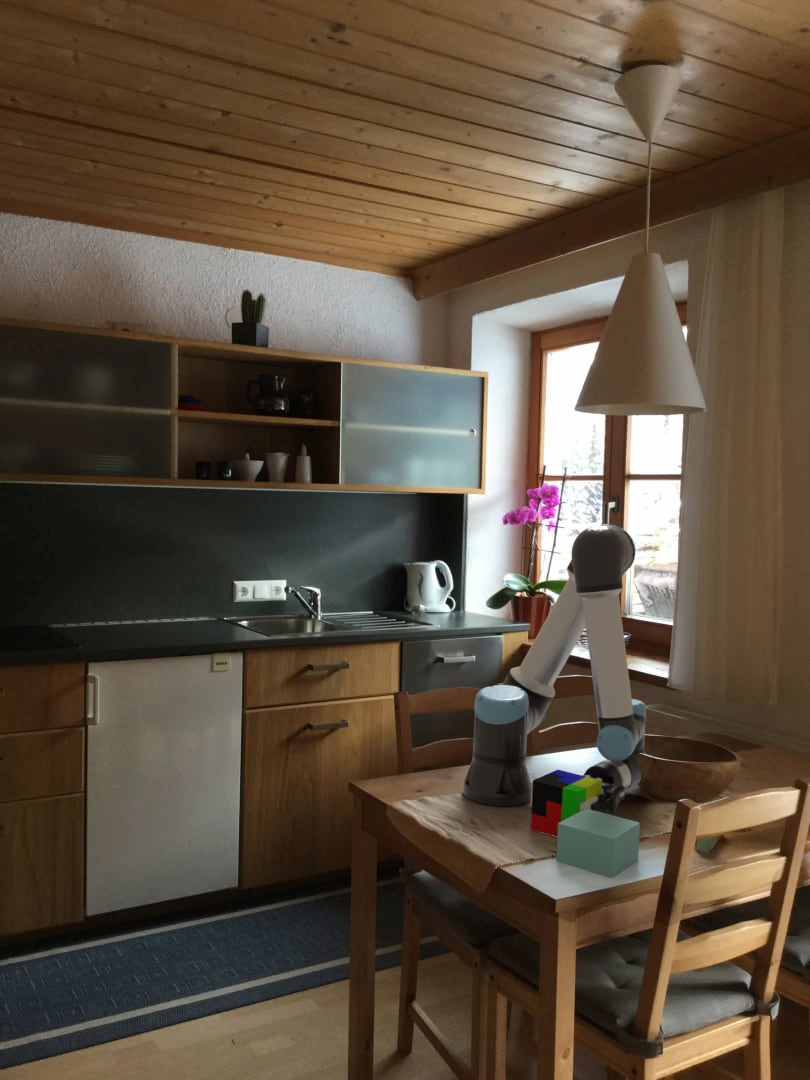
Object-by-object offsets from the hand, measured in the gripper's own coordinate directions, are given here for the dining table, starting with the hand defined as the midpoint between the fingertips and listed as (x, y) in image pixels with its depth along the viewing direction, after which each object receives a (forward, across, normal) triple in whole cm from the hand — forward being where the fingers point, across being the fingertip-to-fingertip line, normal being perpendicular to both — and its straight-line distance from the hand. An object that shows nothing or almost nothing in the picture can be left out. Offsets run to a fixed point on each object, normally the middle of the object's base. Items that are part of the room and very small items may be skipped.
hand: (556, 805), depth 184 cm
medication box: (-18, -24, -6) cm, 31 cm away
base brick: (+6, -12, -6) cm, 15 cm away
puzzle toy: (-4, 0, -6) cm, 8 cm away
